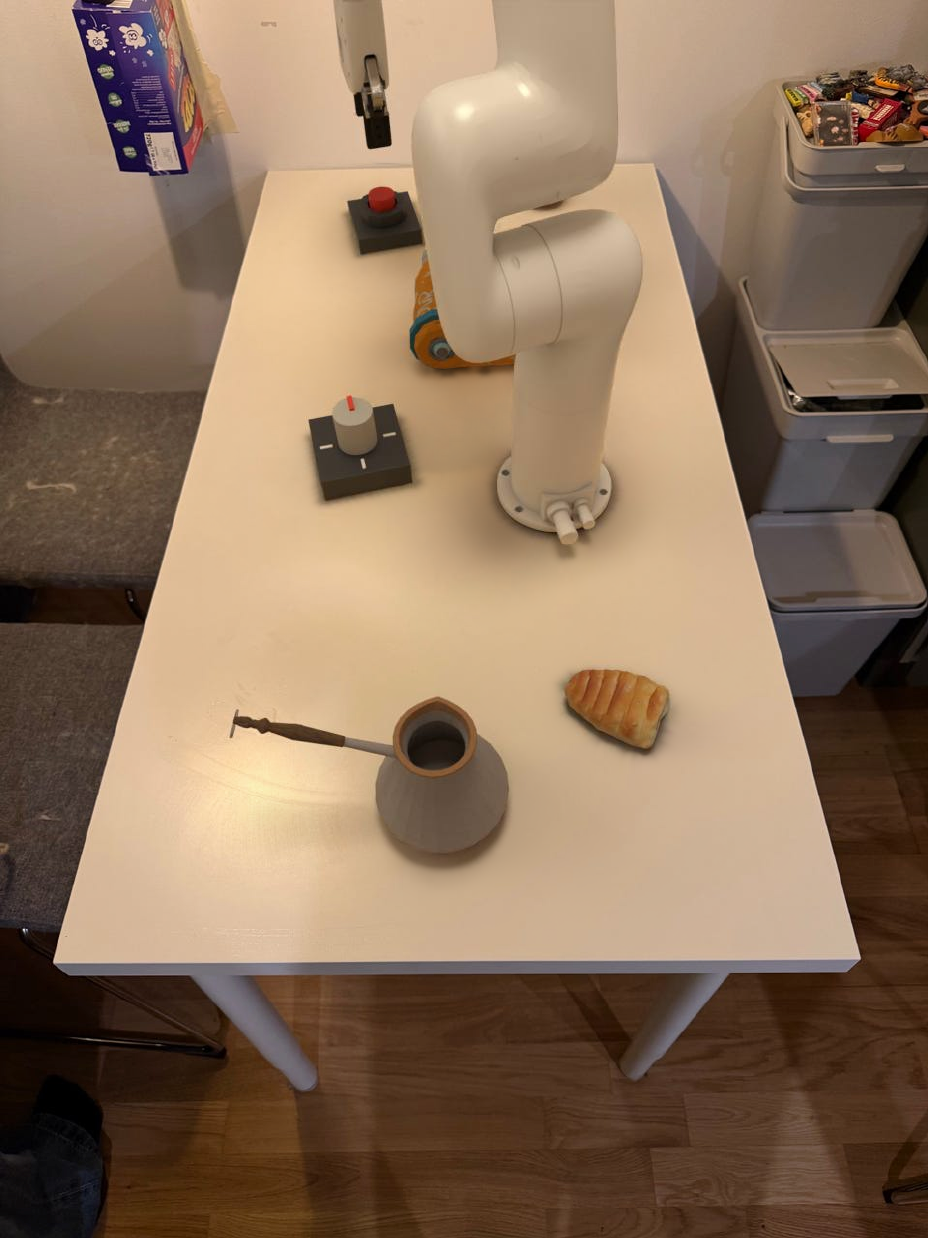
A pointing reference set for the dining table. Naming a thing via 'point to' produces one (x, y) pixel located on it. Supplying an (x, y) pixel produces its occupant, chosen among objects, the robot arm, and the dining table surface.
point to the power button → (381, 199)
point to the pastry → (619, 704)
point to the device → (435, 328)
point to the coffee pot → (425, 774)
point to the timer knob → (355, 425)
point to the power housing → (385, 224)
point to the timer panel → (361, 457)
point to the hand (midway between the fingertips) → (373, 129)
